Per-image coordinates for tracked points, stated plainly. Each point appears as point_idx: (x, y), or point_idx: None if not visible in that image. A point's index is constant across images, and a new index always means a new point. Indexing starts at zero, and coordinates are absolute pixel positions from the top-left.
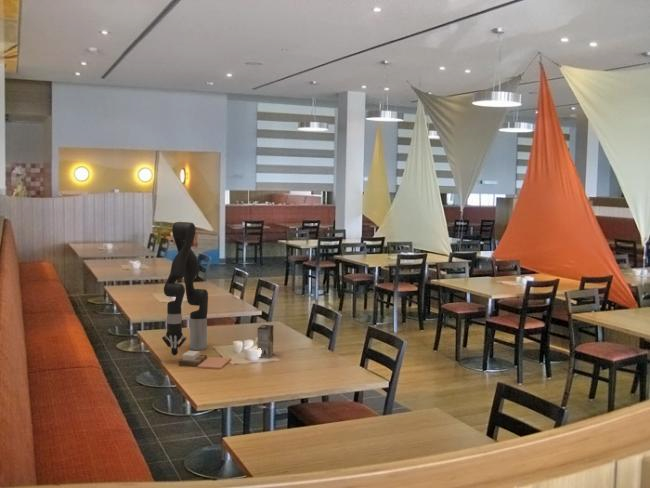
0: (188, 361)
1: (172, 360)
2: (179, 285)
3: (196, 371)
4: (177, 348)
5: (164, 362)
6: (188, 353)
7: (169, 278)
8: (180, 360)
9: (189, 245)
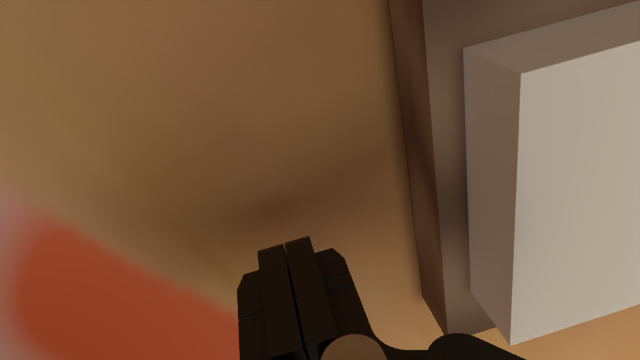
0: None
1: (205, 166)
2: None
3: (634, 328)
4: (371, 332)
5: (180, 286)
6: (578, 247)
7: None
8: (459, 320)
9: None
